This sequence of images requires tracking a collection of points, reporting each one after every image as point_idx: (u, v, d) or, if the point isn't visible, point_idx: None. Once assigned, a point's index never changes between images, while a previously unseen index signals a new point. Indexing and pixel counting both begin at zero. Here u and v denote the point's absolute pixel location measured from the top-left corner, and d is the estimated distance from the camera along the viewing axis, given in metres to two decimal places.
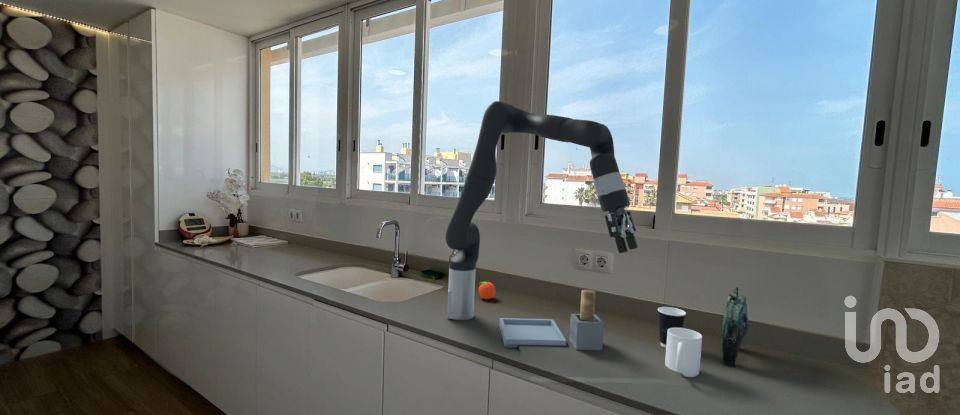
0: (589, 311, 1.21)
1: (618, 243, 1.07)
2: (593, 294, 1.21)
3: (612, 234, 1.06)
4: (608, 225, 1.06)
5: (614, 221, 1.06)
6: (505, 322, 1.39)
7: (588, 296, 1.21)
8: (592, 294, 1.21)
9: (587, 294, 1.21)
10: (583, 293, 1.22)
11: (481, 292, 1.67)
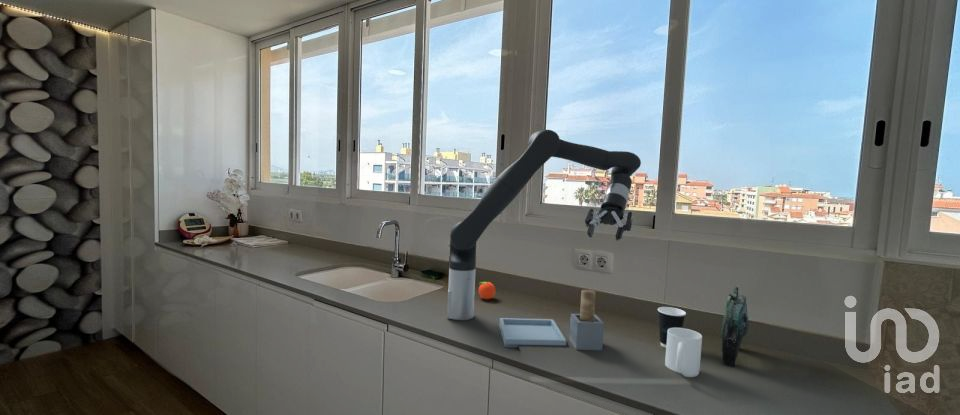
0: (589, 311, 1.21)
1: (622, 232, 1.29)
2: (593, 294, 1.21)
3: (629, 226, 1.30)
4: (631, 219, 1.31)
5: (631, 221, 1.32)
6: (505, 322, 1.39)
7: (588, 296, 1.21)
8: (592, 294, 1.21)
9: (587, 294, 1.21)
10: (583, 293, 1.22)
11: (481, 292, 1.67)
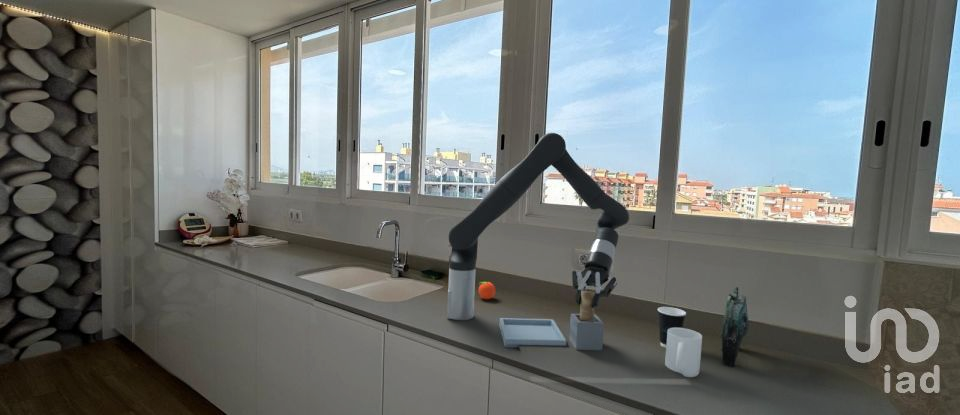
0: (589, 311, 1.21)
1: (598, 299, 1.21)
2: (593, 294, 1.21)
3: (606, 293, 1.21)
4: (611, 286, 1.21)
5: (613, 288, 1.23)
6: (505, 322, 1.39)
7: (588, 296, 1.21)
8: (591, 295, 1.21)
9: (587, 294, 1.21)
10: (583, 293, 1.21)
11: (481, 292, 1.67)
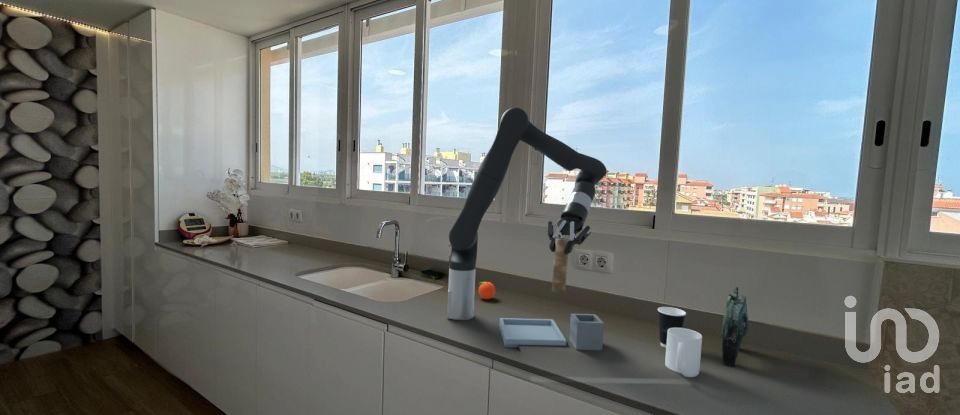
0: (562, 257, 1.23)
1: (572, 246, 1.23)
2: (566, 241, 1.23)
3: (580, 240, 1.23)
4: (585, 234, 1.24)
5: (587, 236, 1.25)
6: (505, 322, 1.39)
7: (561, 243, 1.23)
8: (565, 241, 1.23)
9: (560, 241, 1.23)
10: (557, 240, 1.24)
11: (481, 292, 1.67)
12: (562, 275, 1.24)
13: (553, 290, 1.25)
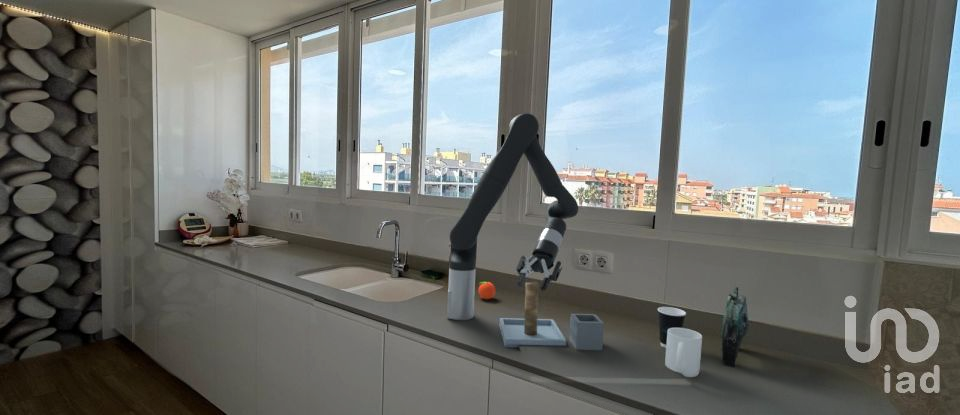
0: (532, 301, 1.28)
1: (547, 283, 1.27)
2: (535, 285, 1.28)
3: (555, 276, 1.27)
4: (558, 269, 1.28)
5: (560, 271, 1.30)
6: (505, 322, 1.39)
7: (531, 287, 1.27)
8: (534, 286, 1.27)
9: (530, 286, 1.27)
10: (526, 285, 1.28)
11: (481, 292, 1.67)
12: (533, 318, 1.29)
13: (525, 332, 1.30)
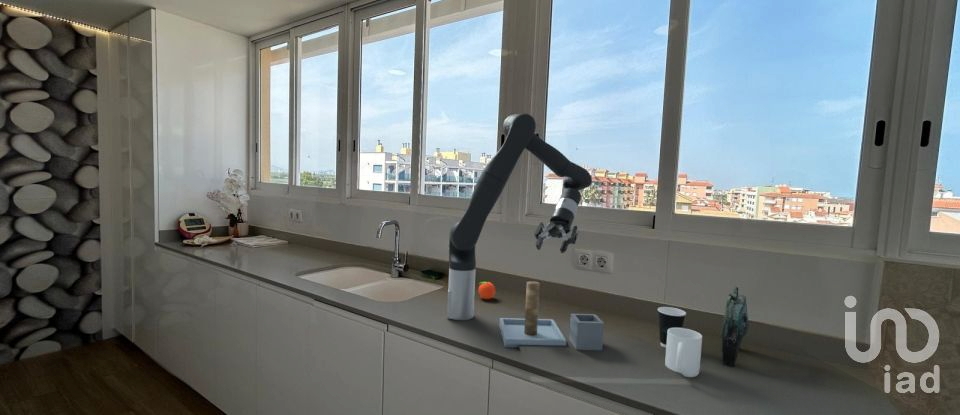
0: (533, 301, 1.28)
1: (566, 245, 1.37)
2: (537, 285, 1.28)
3: (574, 239, 1.37)
4: (575, 233, 1.38)
5: (577, 235, 1.40)
6: (505, 322, 1.39)
7: (532, 287, 1.28)
8: (535, 286, 1.28)
9: (531, 285, 1.28)
10: (528, 284, 1.29)
11: (481, 292, 1.67)
12: (534, 318, 1.29)
13: (525, 332, 1.30)
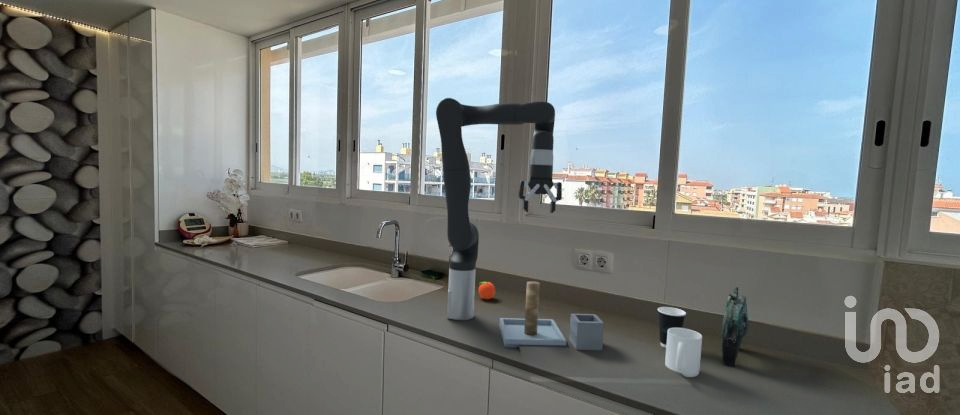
0: (533, 301, 1.28)
1: None
2: (537, 285, 1.28)
3: None
4: (561, 190, 1.39)
5: None
6: (505, 322, 1.39)
7: (532, 287, 1.28)
8: (535, 285, 1.28)
9: (531, 285, 1.28)
10: (528, 284, 1.29)
11: (481, 292, 1.67)
12: (534, 318, 1.29)
13: (525, 332, 1.30)
